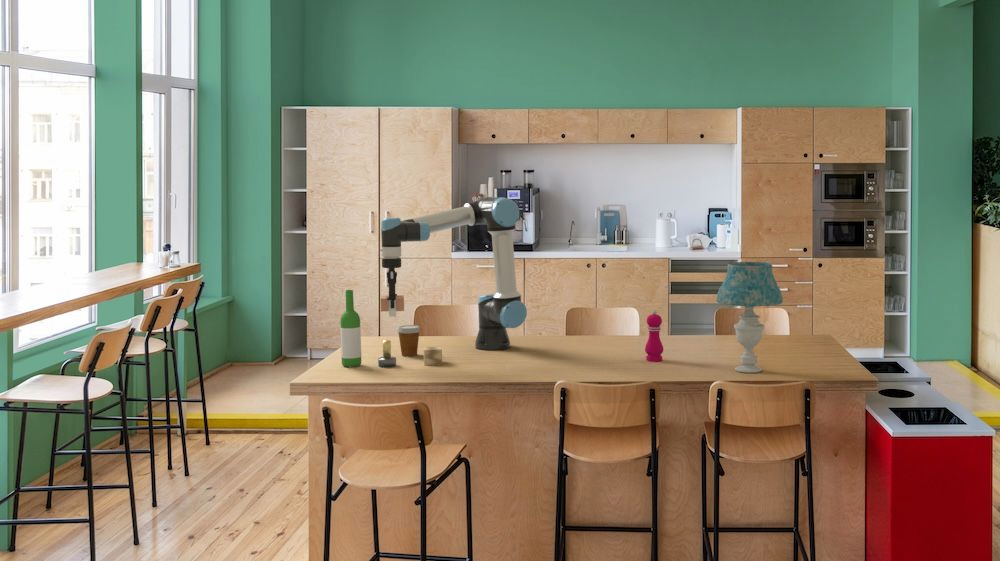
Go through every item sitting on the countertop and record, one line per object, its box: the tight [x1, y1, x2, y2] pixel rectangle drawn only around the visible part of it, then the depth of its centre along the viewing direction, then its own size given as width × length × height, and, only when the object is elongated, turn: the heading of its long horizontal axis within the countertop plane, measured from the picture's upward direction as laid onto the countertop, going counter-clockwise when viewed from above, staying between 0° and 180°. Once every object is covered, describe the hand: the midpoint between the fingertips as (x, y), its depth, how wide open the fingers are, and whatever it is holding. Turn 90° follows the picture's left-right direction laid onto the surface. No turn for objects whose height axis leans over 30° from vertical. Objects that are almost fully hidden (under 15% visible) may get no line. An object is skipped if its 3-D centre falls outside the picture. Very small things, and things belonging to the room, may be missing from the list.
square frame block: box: [380, 295, 405, 312], centre depth 387 cm, size 9×9×5 cm
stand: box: [423, 346, 443, 366], centre depth 392 cm, size 7×7×6 cm
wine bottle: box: [340, 289, 362, 368], centre depth 389 cm, size 8×8×30 cm
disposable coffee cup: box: [396, 324, 421, 357], centre depth 410 cm, size 10×10×12 cm
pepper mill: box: [644, 310, 664, 363], centre depth 390 cm, size 7×7×20 cm
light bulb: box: [377, 339, 397, 369], centre depth 388 cm, size 7×7×10 cm
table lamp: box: [716, 261, 784, 374], centre depth 366 cm, size 24×24×40 cm
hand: (392, 314), depth 387 cm, fingers closed on square frame block, 9 cm apart
